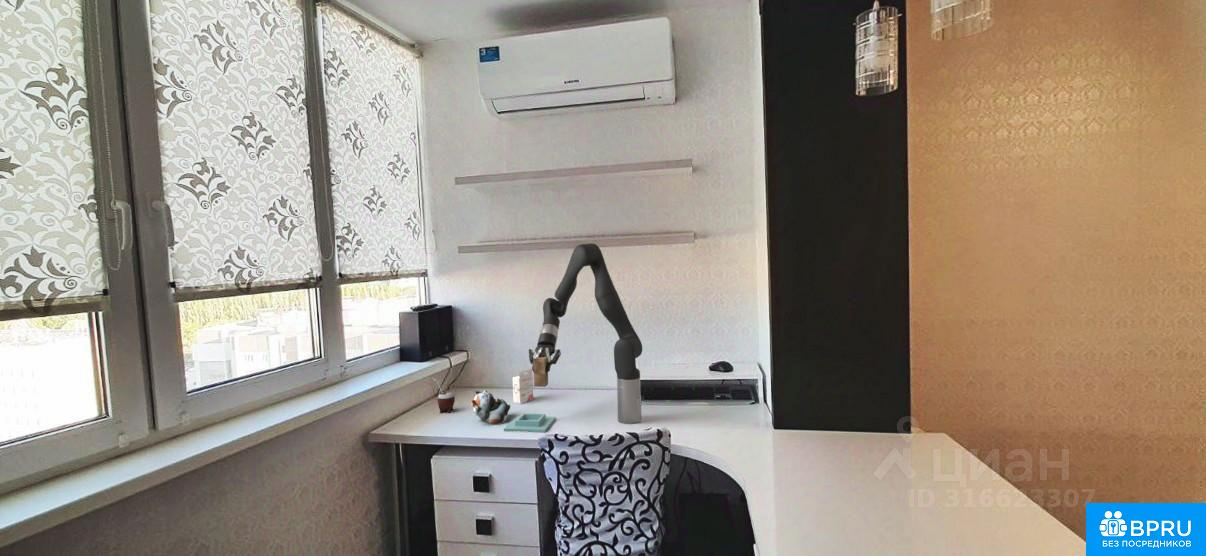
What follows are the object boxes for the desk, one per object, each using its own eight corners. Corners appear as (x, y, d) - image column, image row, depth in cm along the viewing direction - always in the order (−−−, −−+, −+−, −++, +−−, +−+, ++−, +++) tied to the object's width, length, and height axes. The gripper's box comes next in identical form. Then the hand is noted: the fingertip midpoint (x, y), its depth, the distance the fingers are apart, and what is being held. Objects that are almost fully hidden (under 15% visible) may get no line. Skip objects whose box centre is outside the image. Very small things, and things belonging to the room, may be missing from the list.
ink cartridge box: (526, 398, 228) (525, 367, 228) (533, 399, 225) (532, 368, 225) (512, 402, 222) (511, 370, 221) (520, 404, 219) (519, 371, 218)
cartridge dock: (555, 419, 195) (555, 411, 195) (544, 432, 180) (544, 424, 180) (517, 418, 198) (517, 410, 198) (503, 431, 182) (503, 423, 182)
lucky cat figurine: (503, 425, 189) (485, 397, 186) (478, 435, 192) (460, 407, 188) (515, 404, 203) (498, 377, 200) (491, 413, 206) (474, 387, 203)
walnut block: (548, 384, 195) (547, 356, 195) (545, 386, 191) (544, 359, 191) (537, 383, 196) (536, 356, 196) (534, 386, 192) (533, 359, 191)
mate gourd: (457, 411, 210) (457, 377, 209) (441, 415, 204) (440, 380, 204) (449, 408, 215) (448, 374, 214) (432, 412, 209) (431, 377, 209)
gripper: (529, 331, 203) (520, 366, 191) (562, 331, 200) (555, 366, 189) (534, 342, 208) (525, 376, 196) (566, 342, 206) (559, 377, 194)
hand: (540, 371), depth 193 cm, fingers closed on walnut block, 4 cm apart
